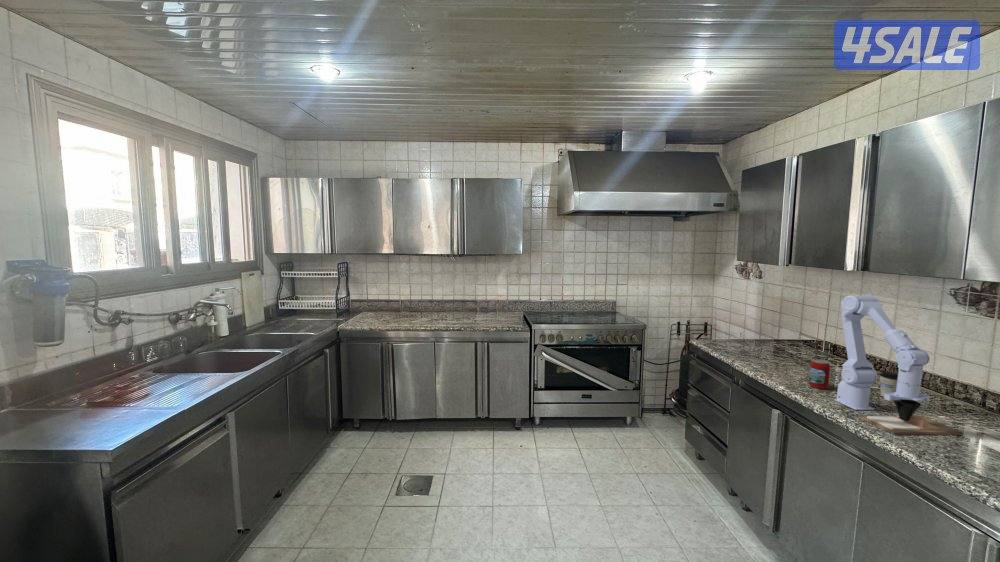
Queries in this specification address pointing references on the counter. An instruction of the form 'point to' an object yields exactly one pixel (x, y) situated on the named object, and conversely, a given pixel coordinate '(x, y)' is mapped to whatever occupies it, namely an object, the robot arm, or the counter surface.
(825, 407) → the counter surface
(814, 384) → the beverage can
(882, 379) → the coffee cup
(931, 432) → the board
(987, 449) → the counter surface
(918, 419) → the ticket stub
